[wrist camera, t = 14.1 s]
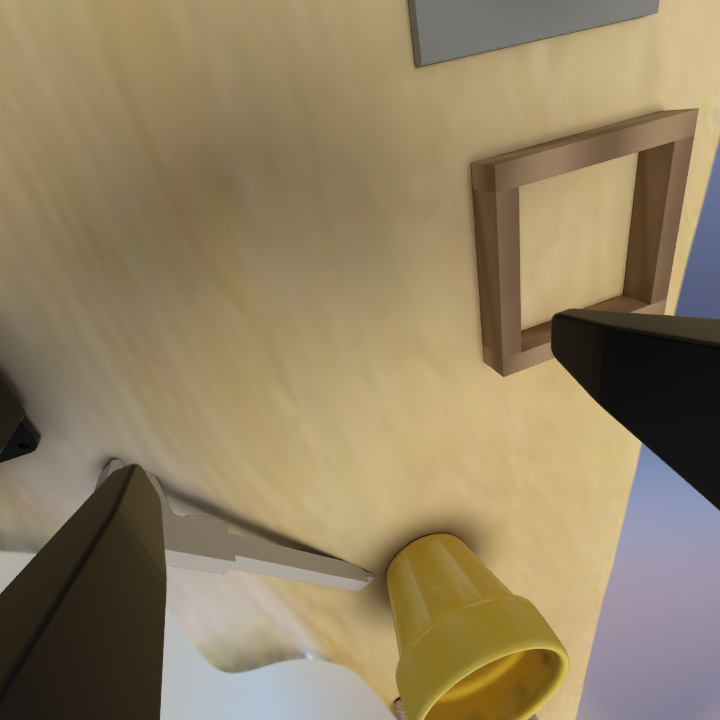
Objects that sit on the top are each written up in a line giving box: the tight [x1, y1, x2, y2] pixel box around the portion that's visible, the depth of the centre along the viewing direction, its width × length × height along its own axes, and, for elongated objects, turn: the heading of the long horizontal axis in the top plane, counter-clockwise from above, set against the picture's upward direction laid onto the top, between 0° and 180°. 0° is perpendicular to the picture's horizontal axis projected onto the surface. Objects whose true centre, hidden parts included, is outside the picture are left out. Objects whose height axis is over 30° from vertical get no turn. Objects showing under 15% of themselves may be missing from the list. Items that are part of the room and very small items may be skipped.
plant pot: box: [386, 534, 569, 720], centre depth 30 cm, size 10×10×10 cm
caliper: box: [94, 459, 376, 592], centre depth 25 cm, size 20×1×6 cm, turn 44°
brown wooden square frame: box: [471, 108, 699, 377], centre depth 24 cm, size 11×11×2 cm
